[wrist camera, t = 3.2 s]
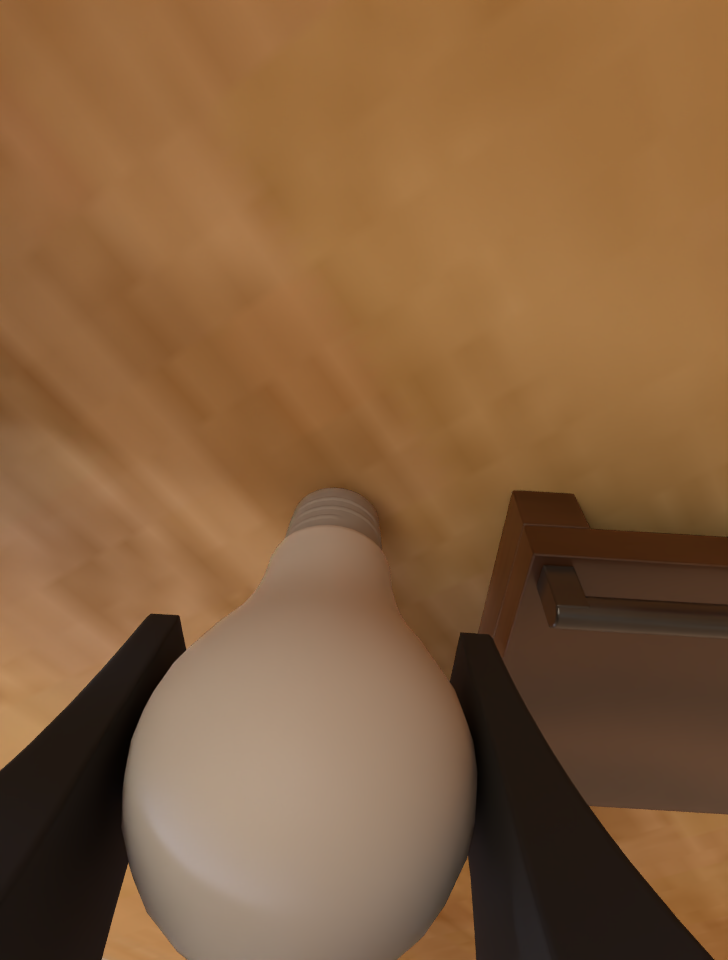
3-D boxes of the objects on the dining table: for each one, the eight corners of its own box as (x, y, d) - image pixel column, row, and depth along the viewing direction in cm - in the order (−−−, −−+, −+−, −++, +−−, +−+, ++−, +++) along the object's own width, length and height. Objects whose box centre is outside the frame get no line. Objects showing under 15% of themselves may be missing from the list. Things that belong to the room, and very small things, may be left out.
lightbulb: (207, 433, 15) (-57, 909, 6) (426, 399, 15) (491, 889, 5) (269, 590, 19) (155, 1050, 10) (450, 569, 18) (516, 1051, 9)
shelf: (819, 750, 23) (902, 873, 19) (454, 728, 23) (467, 846, 19) (1030, 520, 16) (1219, 642, 12) (512, 489, 16) (548, 601, 12)
